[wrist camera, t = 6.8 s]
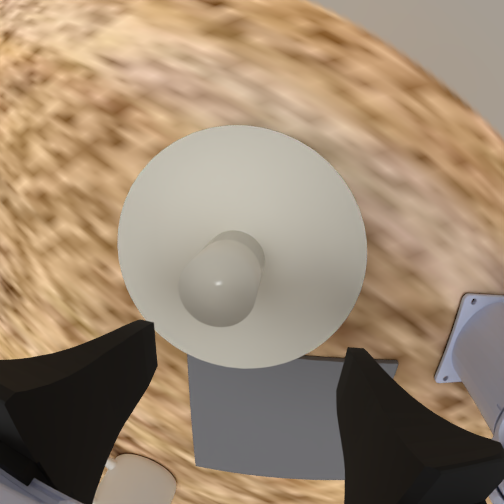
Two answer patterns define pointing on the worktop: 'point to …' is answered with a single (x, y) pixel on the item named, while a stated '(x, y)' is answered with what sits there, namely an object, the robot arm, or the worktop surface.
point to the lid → (242, 246)
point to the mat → (269, 417)
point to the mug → (135, 482)
